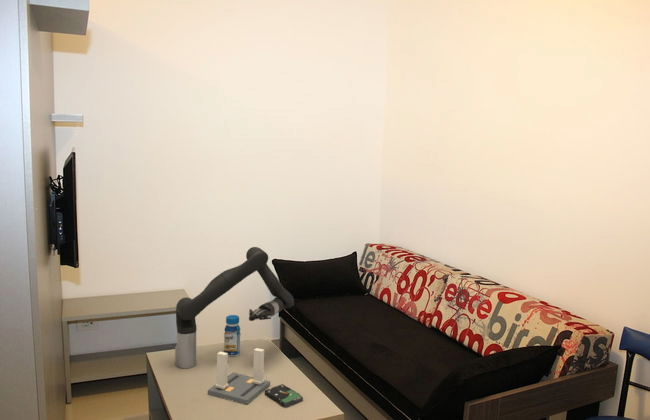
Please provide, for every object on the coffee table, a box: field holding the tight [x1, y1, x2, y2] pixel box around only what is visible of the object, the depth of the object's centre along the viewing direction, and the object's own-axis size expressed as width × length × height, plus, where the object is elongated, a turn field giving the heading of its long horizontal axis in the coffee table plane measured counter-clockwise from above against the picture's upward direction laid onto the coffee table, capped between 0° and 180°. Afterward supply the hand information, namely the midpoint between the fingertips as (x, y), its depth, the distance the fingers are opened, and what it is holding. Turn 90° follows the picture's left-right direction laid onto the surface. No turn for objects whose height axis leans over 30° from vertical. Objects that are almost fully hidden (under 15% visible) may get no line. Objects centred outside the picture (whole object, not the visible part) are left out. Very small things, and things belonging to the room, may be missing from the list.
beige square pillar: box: [214, 351, 229, 389], centre depth 232 cm, size 4×4×15 cm
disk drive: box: [264, 383, 304, 409], centre depth 231 cm, size 10×3×15 cm
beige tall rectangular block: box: [252, 347, 265, 385], centre depth 238 cm, size 4×4×15 cm
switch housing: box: [207, 371, 271, 405], centre depth 236 cm, size 20×20×2 cm
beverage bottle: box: [223, 314, 241, 357], centre depth 274 cm, size 8×8×20 cm
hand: (250, 318), depth 251 cm, fingers closed
